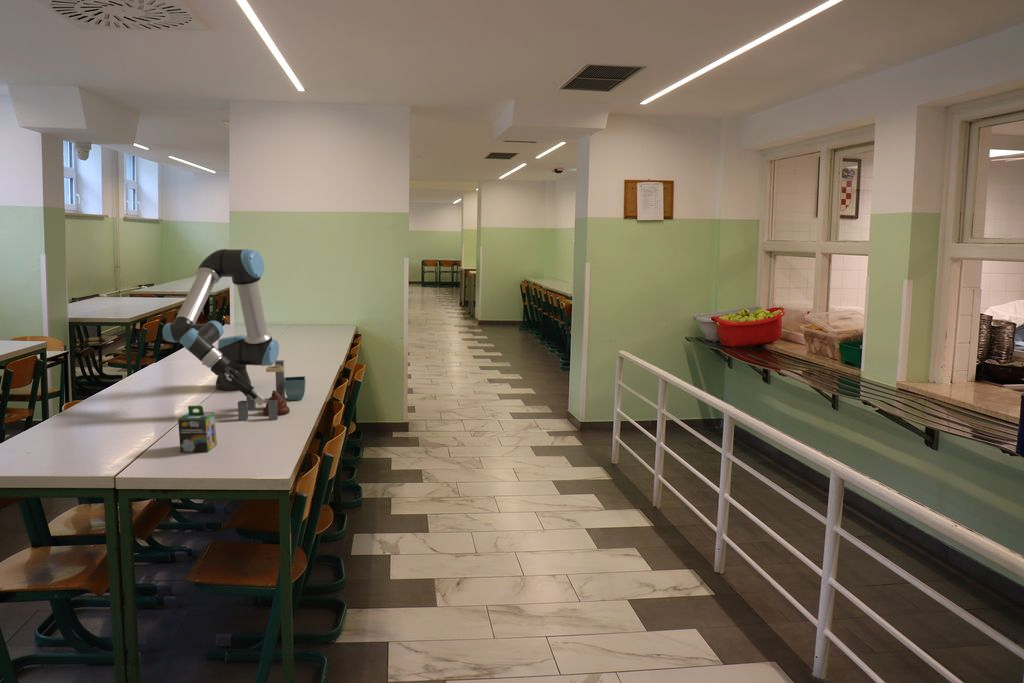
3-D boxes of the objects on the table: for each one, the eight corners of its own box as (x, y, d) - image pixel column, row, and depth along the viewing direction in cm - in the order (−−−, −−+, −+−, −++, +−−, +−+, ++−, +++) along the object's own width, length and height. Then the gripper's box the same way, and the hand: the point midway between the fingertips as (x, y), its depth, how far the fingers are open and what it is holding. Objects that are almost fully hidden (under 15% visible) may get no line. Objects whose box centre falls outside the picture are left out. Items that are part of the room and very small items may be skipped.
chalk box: (217, 445, 270) (215, 401, 268) (207, 452, 261) (205, 408, 258) (189, 444, 269) (187, 401, 267) (179, 452, 260) (176, 408, 258)
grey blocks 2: (268, 420, 304) (268, 401, 303) (276, 408, 324) (276, 391, 322) (276, 419, 304) (276, 401, 303) (284, 407, 324) (283, 390, 323)
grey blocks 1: (238, 420, 302) (237, 402, 301) (248, 408, 322) (247, 391, 321) (246, 420, 303) (246, 402, 302) (256, 408, 322) (255, 391, 321)
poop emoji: (262, 416, 309) (261, 393, 308) (264, 411, 318) (263, 388, 316) (289, 415, 311) (288, 392, 310) (290, 410, 320) (289, 387, 318)
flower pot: (284, 402, 334) (283, 380, 333) (284, 397, 343) (283, 377, 342) (306, 401, 337) (305, 380, 336) (305, 396, 345) (305, 376, 344)
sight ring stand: (267, 415, 311) (265, 367, 308) (273, 406, 326) (272, 360, 323) (283, 415, 311) (282, 367, 309) (289, 406, 327) (287, 360, 324)
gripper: (213, 365, 314) (258, 406, 319) (205, 371, 301) (253, 414, 306) (226, 352, 314) (272, 393, 319) (219, 357, 301) (267, 400, 306)
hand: (262, 403), depth 313 cm, fingers closed
